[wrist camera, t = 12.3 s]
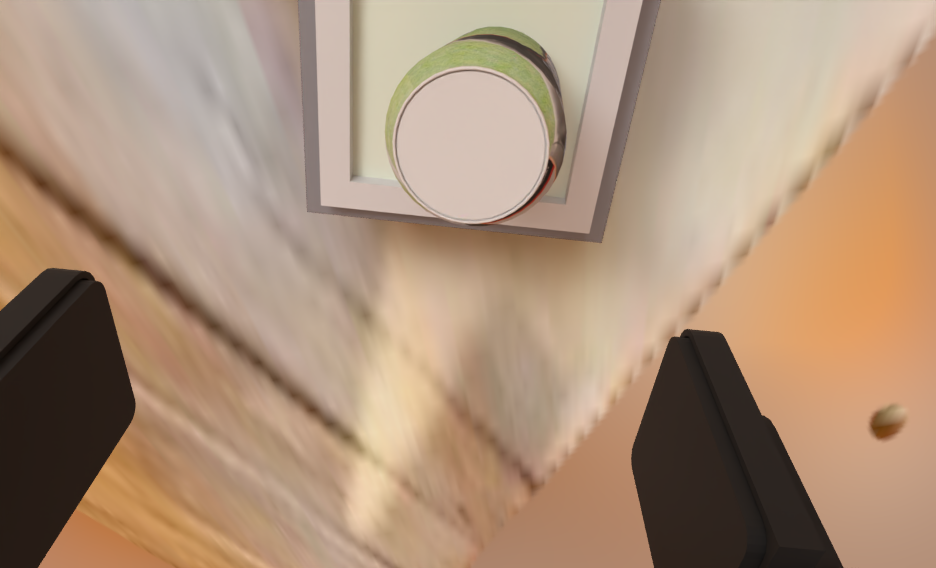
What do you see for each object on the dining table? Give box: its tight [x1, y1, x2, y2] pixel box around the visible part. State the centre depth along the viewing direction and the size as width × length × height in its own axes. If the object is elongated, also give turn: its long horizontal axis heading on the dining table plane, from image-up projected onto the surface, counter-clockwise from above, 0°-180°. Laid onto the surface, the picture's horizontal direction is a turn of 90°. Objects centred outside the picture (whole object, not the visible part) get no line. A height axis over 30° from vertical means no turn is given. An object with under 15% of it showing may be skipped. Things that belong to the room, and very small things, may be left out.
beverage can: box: [385, 27, 567, 226], centre depth 25 cm, size 6×7×12 cm
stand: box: [298, 0, 661, 243], centre depth 33 cm, size 16×16×9 cm
